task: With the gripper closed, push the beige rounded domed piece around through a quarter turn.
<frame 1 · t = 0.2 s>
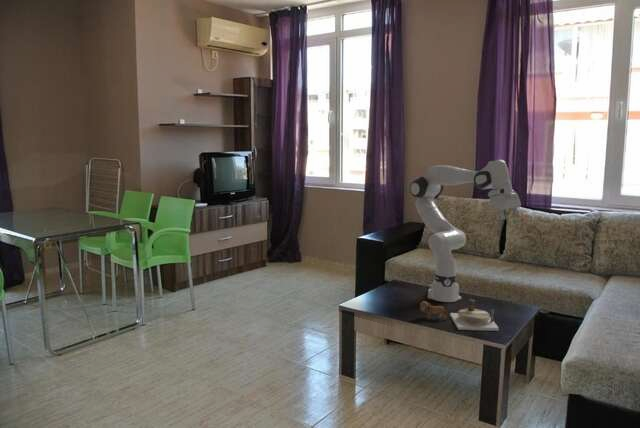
hand: (509, 218, 254), 52 cm above the table, tool tilted 20°, fingers open, 8 cm apart
post base: (473, 322, 255), on the table
lion figurine: (433, 319, 260), on the table
beige rounded domed piece: (473, 309, 255), point 7 cm above the table, hinge at 0.0°
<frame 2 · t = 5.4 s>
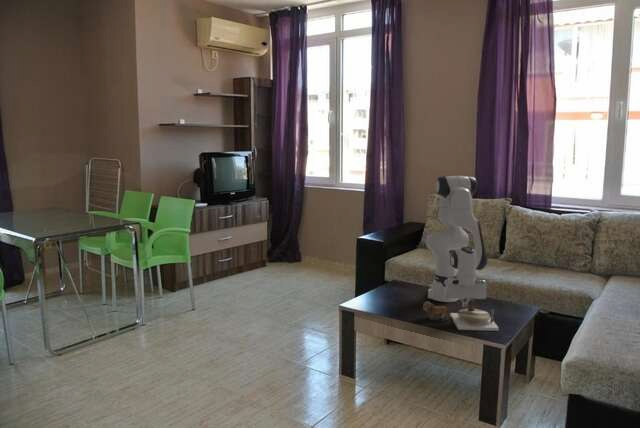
hand: (464, 306, 259), 7 cm above the table, tool pointing down, fingers closed
lion figurine: (436, 319, 260), on the table
beige rounded domed piece: (473, 309, 255), point 7 cm above the table, hinge at 0.7°, touching gripper
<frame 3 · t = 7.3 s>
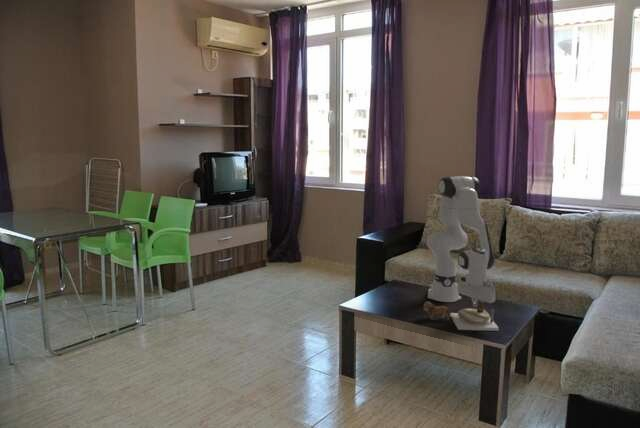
hand: (475, 306, 259), 7 cm above the table, tool pointing down, fingers closed
beige rounded domed piece: (475, 309, 254), point 7 cm above the table, hinge at 47.6°, touching gripper
everything else where it was.
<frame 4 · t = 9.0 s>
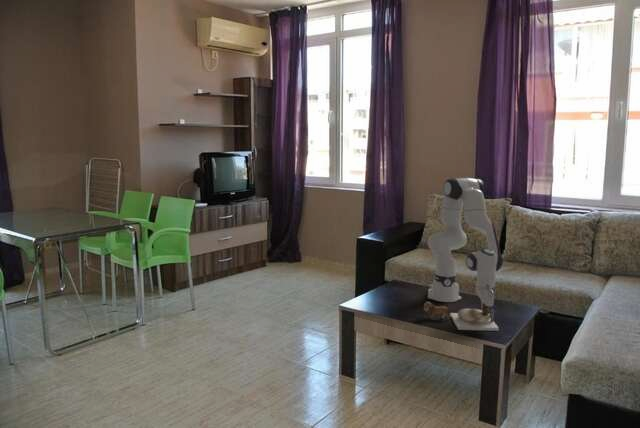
hand: (483, 308, 256), 6 cm above the table, tool pointing down, fingers closed
beige rounded domed piece: (476, 310, 253), point 7 cm above the table, hinge at 90.7°, touching gripper, post base
everything else where it was.
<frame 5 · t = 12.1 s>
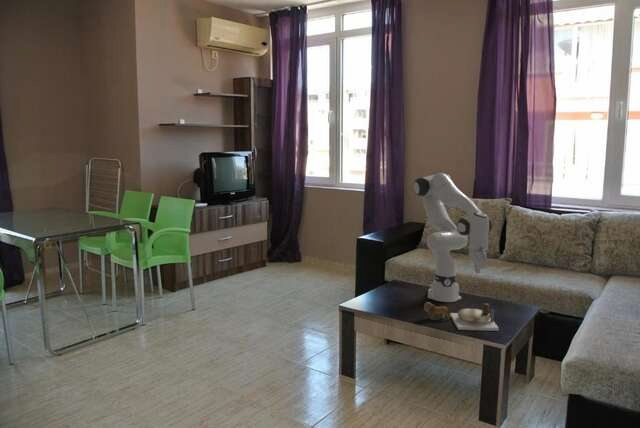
hand: (477, 272, 257), 24 cm above the table, tool pointing down, fingers closed
beige rounded domed piece: (476, 310, 253), point 7 cm above the table, hinge at 90.7°
everything else where it was.
at the end: beige rounded domed piece at +91° (first picture: +0°); lion figurine moved 1.9 cm from its start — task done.
